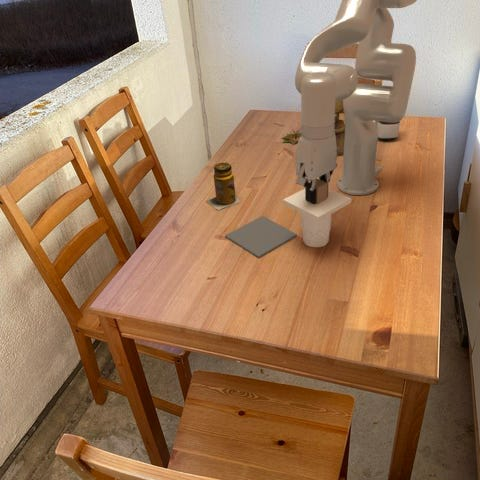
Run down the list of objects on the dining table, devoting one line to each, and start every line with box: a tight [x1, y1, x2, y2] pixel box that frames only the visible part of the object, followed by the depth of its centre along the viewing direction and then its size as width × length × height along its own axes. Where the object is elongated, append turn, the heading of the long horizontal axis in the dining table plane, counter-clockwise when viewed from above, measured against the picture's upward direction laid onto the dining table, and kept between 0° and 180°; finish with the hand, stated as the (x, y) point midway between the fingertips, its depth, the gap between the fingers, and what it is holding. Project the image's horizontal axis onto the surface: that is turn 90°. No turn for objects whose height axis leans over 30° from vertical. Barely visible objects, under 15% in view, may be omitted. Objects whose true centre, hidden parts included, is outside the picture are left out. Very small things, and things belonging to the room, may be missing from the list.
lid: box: [282, 178, 352, 221], centre depth 118 cm, size 12×12×6 cm
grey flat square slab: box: [224, 215, 298, 259], centre depth 129 cm, size 14×14×1 cm
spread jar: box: [373, 120, 401, 142], centre depth 175 cm, size 12×11×12 cm
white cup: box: [300, 212, 333, 248], centre depth 123 cm, size 8×8×10 cm
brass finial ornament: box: [334, 100, 345, 157], centre depth 168 cm, size 9×14×18 cm, turn 170°
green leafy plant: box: [281, 127, 301, 145], centre depth 182 cm, size 12×12×5 cm
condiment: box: [205, 162, 242, 211], centre depth 144 cm, size 7×8×12 cm
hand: (316, 198), depth 119 cm, fingers closed on lid, 3 cm apart
